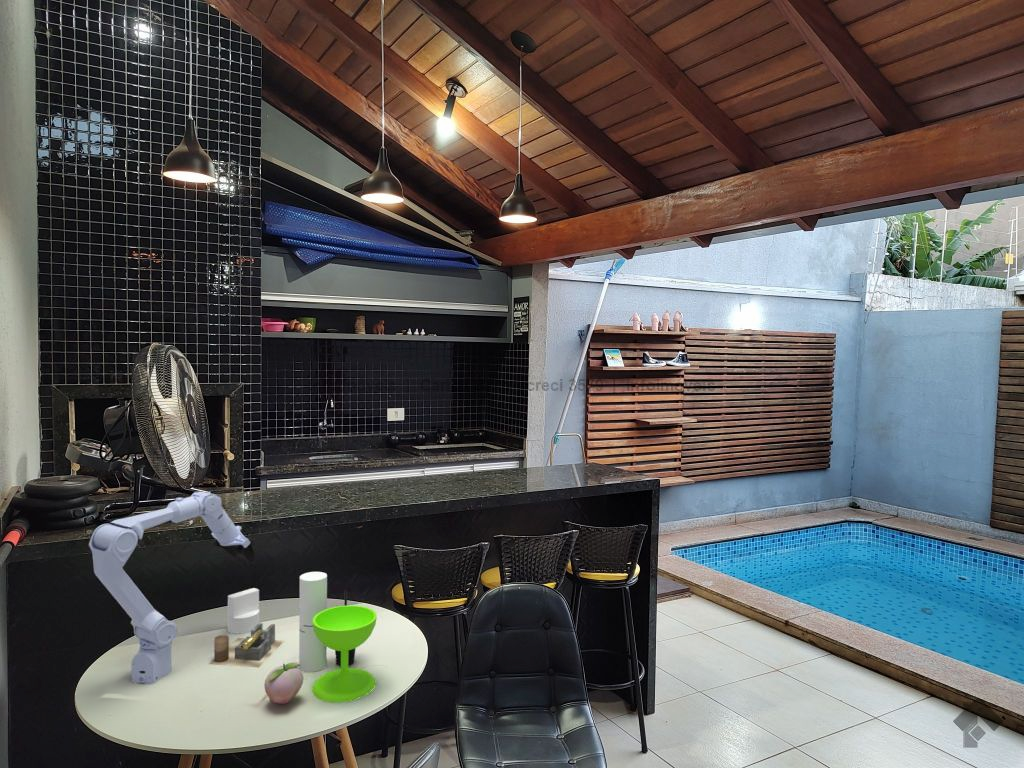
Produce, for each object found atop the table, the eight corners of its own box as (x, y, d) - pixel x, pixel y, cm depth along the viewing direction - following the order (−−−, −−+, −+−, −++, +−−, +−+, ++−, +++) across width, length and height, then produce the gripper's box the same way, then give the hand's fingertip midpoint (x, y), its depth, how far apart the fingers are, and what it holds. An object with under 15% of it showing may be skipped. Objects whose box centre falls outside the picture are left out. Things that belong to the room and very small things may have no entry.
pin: (248, 650, 178) (248, 643, 178) (241, 650, 178) (241, 642, 178) (263, 636, 187) (263, 629, 187) (256, 636, 187) (256, 629, 187)
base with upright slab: (237, 640, 194) (237, 600, 193) (221, 632, 199) (221, 593, 199) (265, 630, 201) (265, 592, 200) (249, 622, 207) (249, 585, 206)
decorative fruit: (282, 690, 167) (282, 652, 166) (308, 697, 164) (309, 658, 163) (255, 709, 158) (255, 668, 158) (283, 716, 155) (283, 675, 155)
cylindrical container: (318, 673, 176) (319, 581, 174) (294, 670, 177) (294, 579, 176) (331, 661, 183) (331, 573, 181) (307, 658, 184) (308, 570, 183)
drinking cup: (324, 664, 181) (325, 593, 179) (344, 653, 187) (344, 584, 186) (346, 671, 177) (346, 599, 176) (365, 660, 184) (365, 590, 183)
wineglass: (358, 664, 181) (359, 600, 180) (387, 688, 169) (388, 620, 168) (302, 682, 171) (302, 614, 170) (328, 709, 159) (328, 636, 158)
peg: (224, 662, 178) (224, 641, 178) (211, 661, 178) (211, 640, 178) (231, 656, 182) (231, 635, 181) (218, 655, 182) (218, 634, 182)
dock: (258, 671, 176) (258, 648, 176) (208, 668, 177) (208, 645, 177) (284, 644, 192) (284, 623, 192) (238, 641, 193) (238, 621, 193)
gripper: (247, 519, 186) (269, 551, 194) (216, 511, 194) (238, 542, 201) (229, 538, 182) (252, 570, 189) (197, 528, 189) (221, 559, 196)
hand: (244, 557), depth 195 cm, fingers open, 7 cm apart
